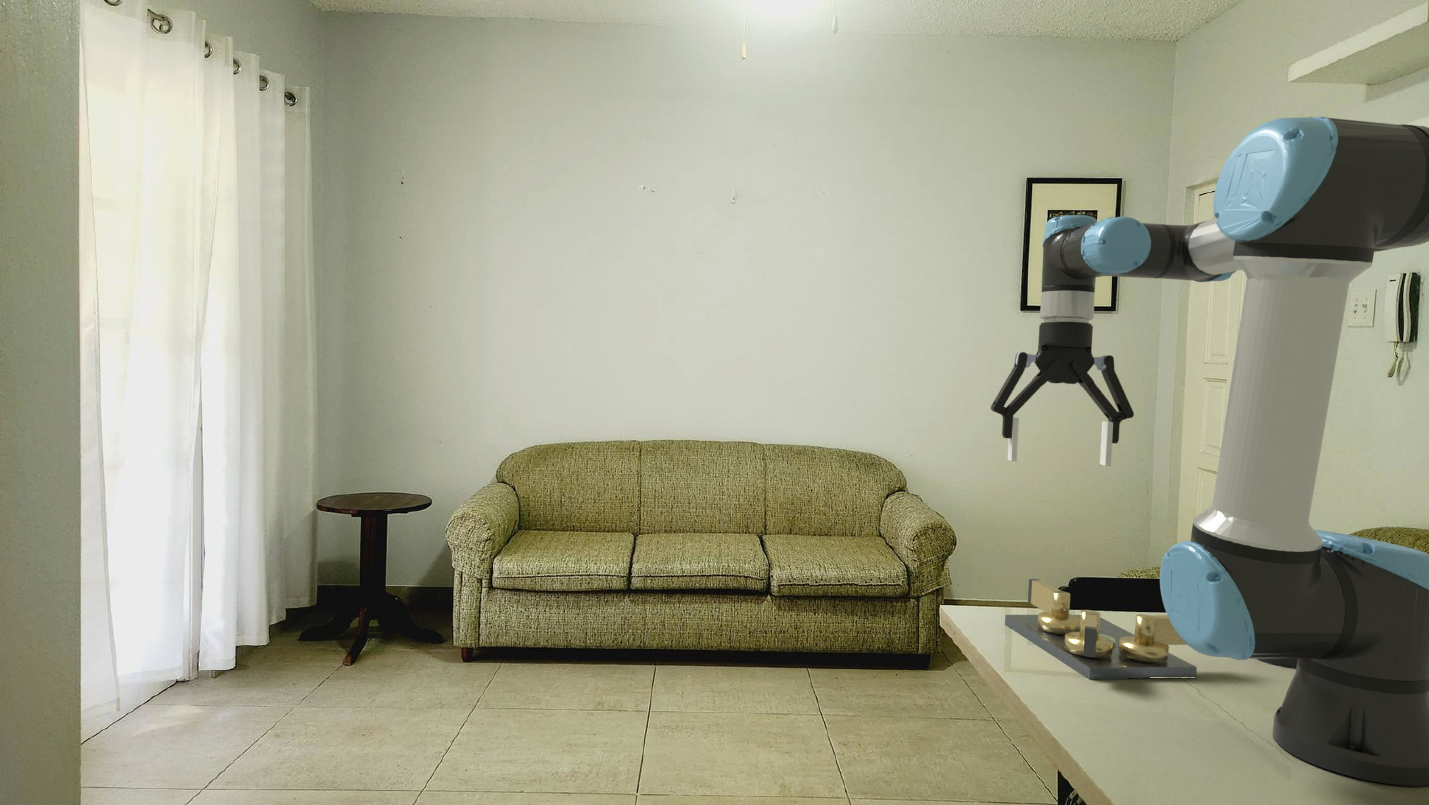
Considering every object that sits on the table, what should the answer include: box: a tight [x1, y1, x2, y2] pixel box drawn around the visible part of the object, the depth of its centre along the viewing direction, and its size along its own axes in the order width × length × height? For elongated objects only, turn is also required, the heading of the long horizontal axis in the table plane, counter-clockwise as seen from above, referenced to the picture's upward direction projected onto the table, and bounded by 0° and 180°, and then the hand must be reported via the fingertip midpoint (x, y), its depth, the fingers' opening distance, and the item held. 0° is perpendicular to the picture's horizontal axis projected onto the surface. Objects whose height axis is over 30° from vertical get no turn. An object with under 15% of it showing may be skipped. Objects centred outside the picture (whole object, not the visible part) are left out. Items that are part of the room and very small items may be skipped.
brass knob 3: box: [1119, 613, 1188, 662], centre depth 124 cm, size 12×6×5 cm, turn 98°
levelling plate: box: [1004, 614, 1198, 680], centre depth 131 cm, size 24×15×2 cm, turn 8°
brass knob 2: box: [1064, 609, 1113, 658], centre depth 122 cm, size 12×6×5 cm, turn 158°
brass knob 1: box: [1027, 578, 1081, 634], centre depth 137 cm, size 12×6×5 cm, turn 8°
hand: (1058, 463), depth 139 cm, fingers open, 13 cm apart
